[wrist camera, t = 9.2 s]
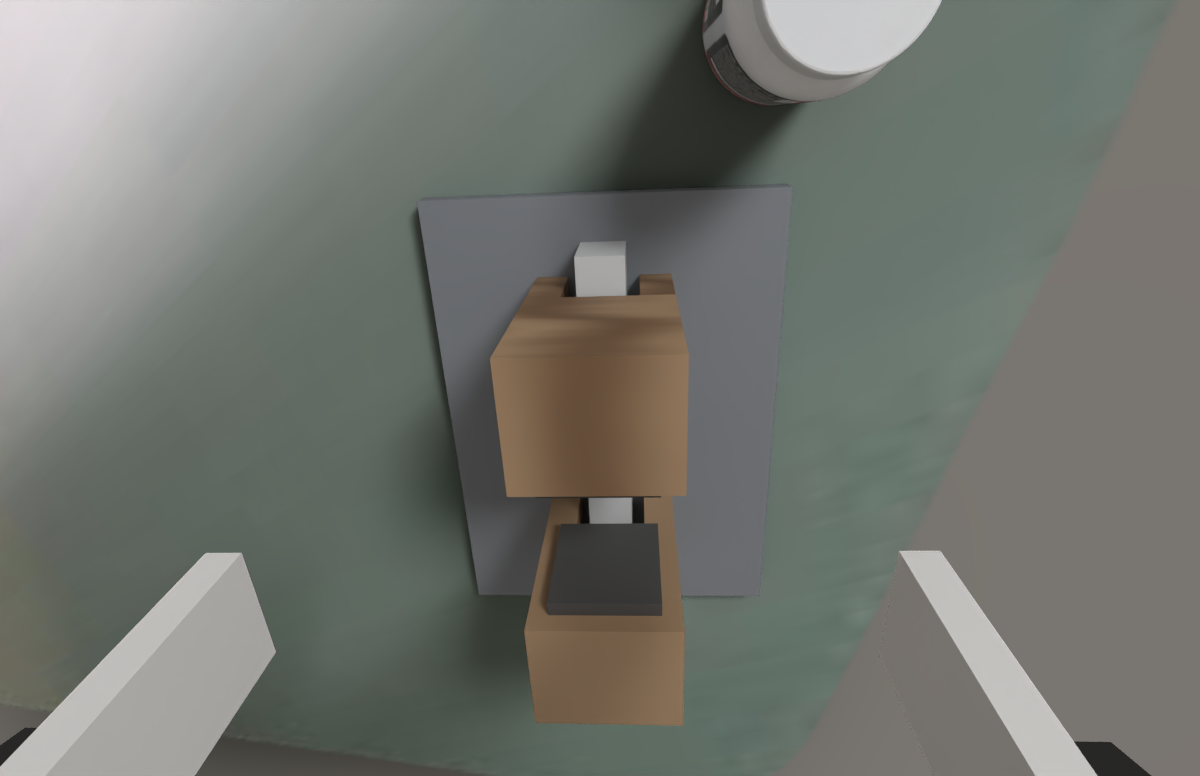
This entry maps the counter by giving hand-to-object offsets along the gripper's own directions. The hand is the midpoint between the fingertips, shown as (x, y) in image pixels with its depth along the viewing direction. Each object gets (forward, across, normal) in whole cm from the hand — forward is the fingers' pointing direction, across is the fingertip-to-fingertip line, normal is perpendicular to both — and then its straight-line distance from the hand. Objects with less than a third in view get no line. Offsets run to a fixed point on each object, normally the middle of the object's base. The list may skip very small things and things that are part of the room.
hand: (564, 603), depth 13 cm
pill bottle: (+19, +7, +12) cm, 23 cm away
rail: (+19, 0, -5) cm, 19 cm away
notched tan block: (+18, 0, 0) cm, 18 cm away
